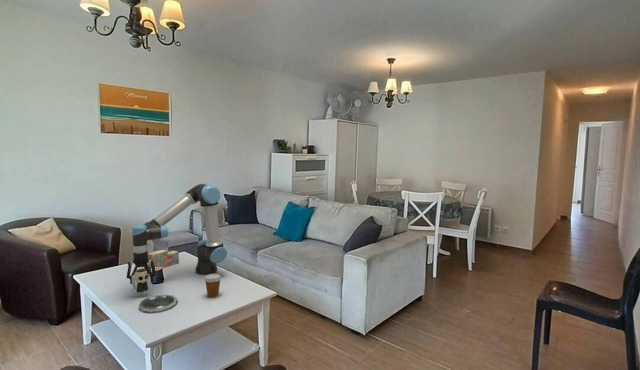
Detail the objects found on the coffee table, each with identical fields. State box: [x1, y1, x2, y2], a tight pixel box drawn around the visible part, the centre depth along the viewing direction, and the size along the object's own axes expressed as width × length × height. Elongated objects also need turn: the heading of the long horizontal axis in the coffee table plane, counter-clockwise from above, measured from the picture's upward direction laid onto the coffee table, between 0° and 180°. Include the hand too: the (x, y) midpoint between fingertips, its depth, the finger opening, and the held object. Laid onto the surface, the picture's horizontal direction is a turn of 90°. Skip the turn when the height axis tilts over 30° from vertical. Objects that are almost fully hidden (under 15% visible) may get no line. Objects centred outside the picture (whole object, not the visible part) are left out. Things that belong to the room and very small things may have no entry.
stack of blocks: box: [147, 249, 180, 270], centre depth 254 cm, size 21×6×12 cm, turn 147°
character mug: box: [132, 267, 150, 294], centre depth 202 cm, size 11×7×13 cm, turn 137°
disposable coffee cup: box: [204, 273, 222, 298], centre depth 206 cm, size 10×10×12 cm
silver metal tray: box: [138, 293, 179, 314], centre depth 192 cm, size 20×20×2 cm
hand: (142, 288), depth 203 cm, fingers closed on character mug, 8 cm apart
